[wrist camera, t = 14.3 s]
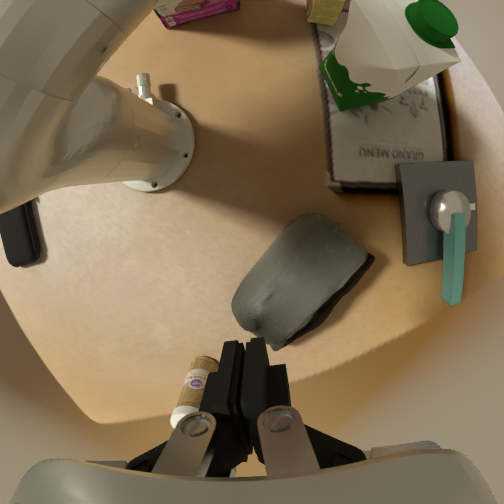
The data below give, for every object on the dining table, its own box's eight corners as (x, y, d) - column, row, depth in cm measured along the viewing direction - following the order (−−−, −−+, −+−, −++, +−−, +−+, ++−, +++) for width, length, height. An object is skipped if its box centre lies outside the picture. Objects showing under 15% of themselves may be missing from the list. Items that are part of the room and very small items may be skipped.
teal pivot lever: (459, 188, 33) (474, 190, 30) (457, 291, 37) (470, 299, 33) (428, 191, 34) (442, 193, 30) (428, 298, 37) (440, 308, 34)
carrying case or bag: (50, 256, 40) (32, 173, 37) (39, 261, 37) (21, 174, 34) (17, 266, 41) (0, 191, 38) (7, 270, 38) (-10, 193, 35)
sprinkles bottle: (214, 353, 43) (199, 414, 30) (222, 376, 44) (209, 437, 31) (187, 356, 43) (164, 415, 30) (195, 378, 44) (176, 437, 31)
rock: (283, 345, 42) (287, 377, 34) (222, 303, 41) (213, 330, 33) (367, 252, 38) (390, 269, 30) (307, 199, 37) (318, 204, 29)
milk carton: (391, 103, 33) (481, 61, 13) (335, 119, 34) (403, 70, 14) (365, 49, 31) (430, -23, 11) (308, 62, 32) (345, -24, 12)
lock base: (394, 164, 35) (400, 164, 33) (467, 160, 34) (473, 160, 32) (403, 262, 38) (408, 266, 36) (471, 247, 37) (477, 250, 35)
